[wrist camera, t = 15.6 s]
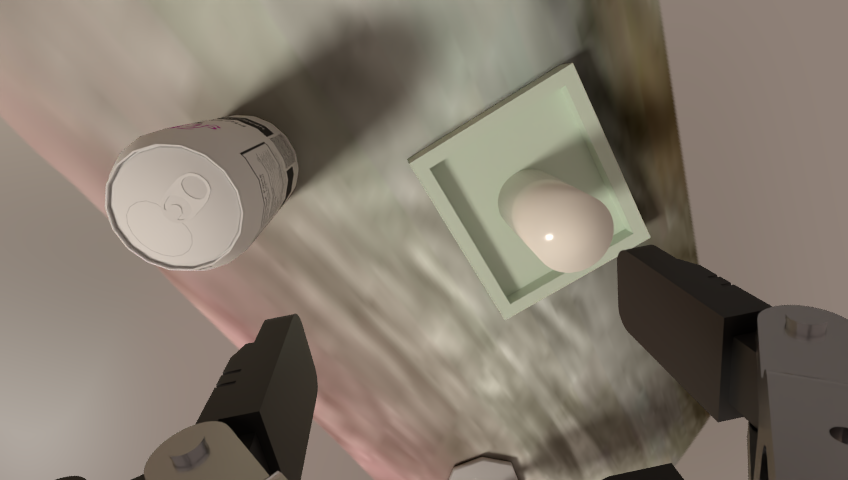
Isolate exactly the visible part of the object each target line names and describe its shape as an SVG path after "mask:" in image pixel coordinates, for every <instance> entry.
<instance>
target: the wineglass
mask: <svg viewBox="0 0 848 480" xmlns="http://www.w3.org/2000/svg"><path fill="white" fill-rule="evenodd" d="M448 480H518V478H517V475H516V473H515V470H514V468H513V465H512V463H511V462H509V461H503V460H498V459H492V458H486V457H480V458H477V459H474V460H472V461H469V462H466V463H464V464H461V465H458V466H455V467H453V469H452V471H451V474H450V476H449V479H448Z"/></svg>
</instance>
